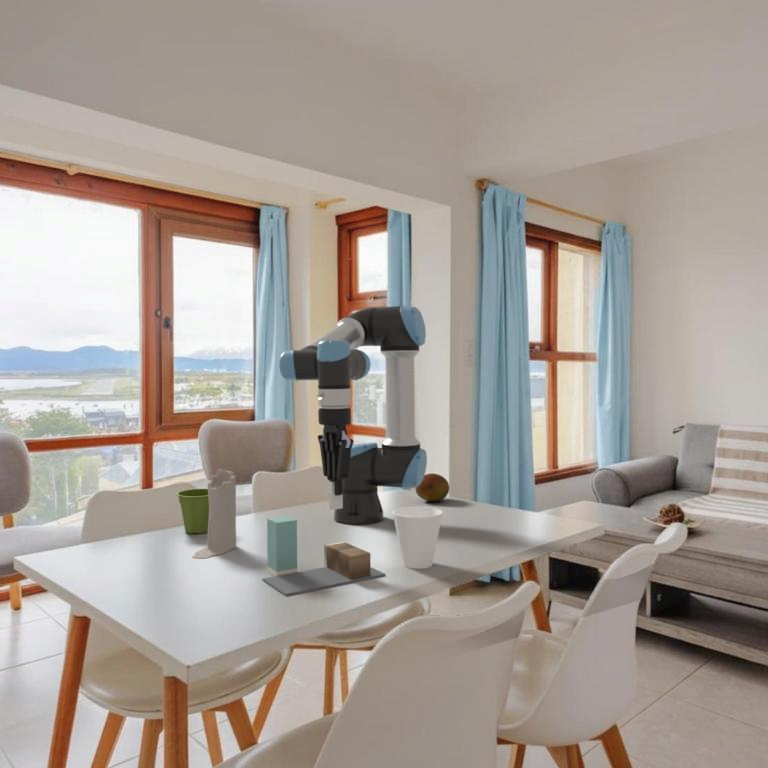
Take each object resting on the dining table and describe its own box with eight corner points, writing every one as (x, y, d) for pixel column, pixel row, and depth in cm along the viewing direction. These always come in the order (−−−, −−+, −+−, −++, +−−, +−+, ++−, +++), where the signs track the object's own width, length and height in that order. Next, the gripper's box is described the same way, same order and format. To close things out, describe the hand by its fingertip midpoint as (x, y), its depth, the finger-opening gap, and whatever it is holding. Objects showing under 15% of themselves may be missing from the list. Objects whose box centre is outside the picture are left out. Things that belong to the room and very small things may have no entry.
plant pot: (167, 534, 183) (167, 494, 183) (194, 525, 194) (194, 487, 194) (202, 538, 179) (202, 497, 179) (228, 528, 190) (227, 489, 190)
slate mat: (262, 580, 142) (262, 578, 142) (357, 562, 155) (357, 560, 155) (285, 596, 132) (285, 594, 132) (385, 575, 145) (385, 573, 145)
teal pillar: (267, 571, 148) (267, 518, 148) (287, 567, 151) (287, 516, 151) (276, 577, 144) (276, 522, 144) (297, 573, 147) (296, 520, 147)
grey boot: (185, 557, 160) (184, 475, 160) (218, 543, 173) (217, 468, 173) (210, 559, 158) (209, 477, 158) (241, 545, 171) (241, 469, 171)
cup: (428, 575, 145) (428, 519, 145) (382, 566, 151) (382, 513, 151) (451, 562, 155) (451, 509, 155) (408, 554, 161) (408, 504, 161)
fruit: (413, 504, 224) (413, 475, 224) (418, 497, 237) (418, 470, 236) (448, 505, 222) (447, 476, 222) (450, 498, 235) (450, 470, 235)
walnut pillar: (324, 544, 151) (350, 556, 141) (343, 541, 153) (370, 553, 143) (324, 566, 151) (350, 579, 141) (343, 562, 154) (370, 575, 144)
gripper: (307, 406, 155) (308, 505, 155) (333, 409, 144) (335, 516, 145) (335, 404, 159) (336, 501, 160) (363, 407, 148) (364, 511, 149)
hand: (336, 508), depth 152 cm, fingers closed
